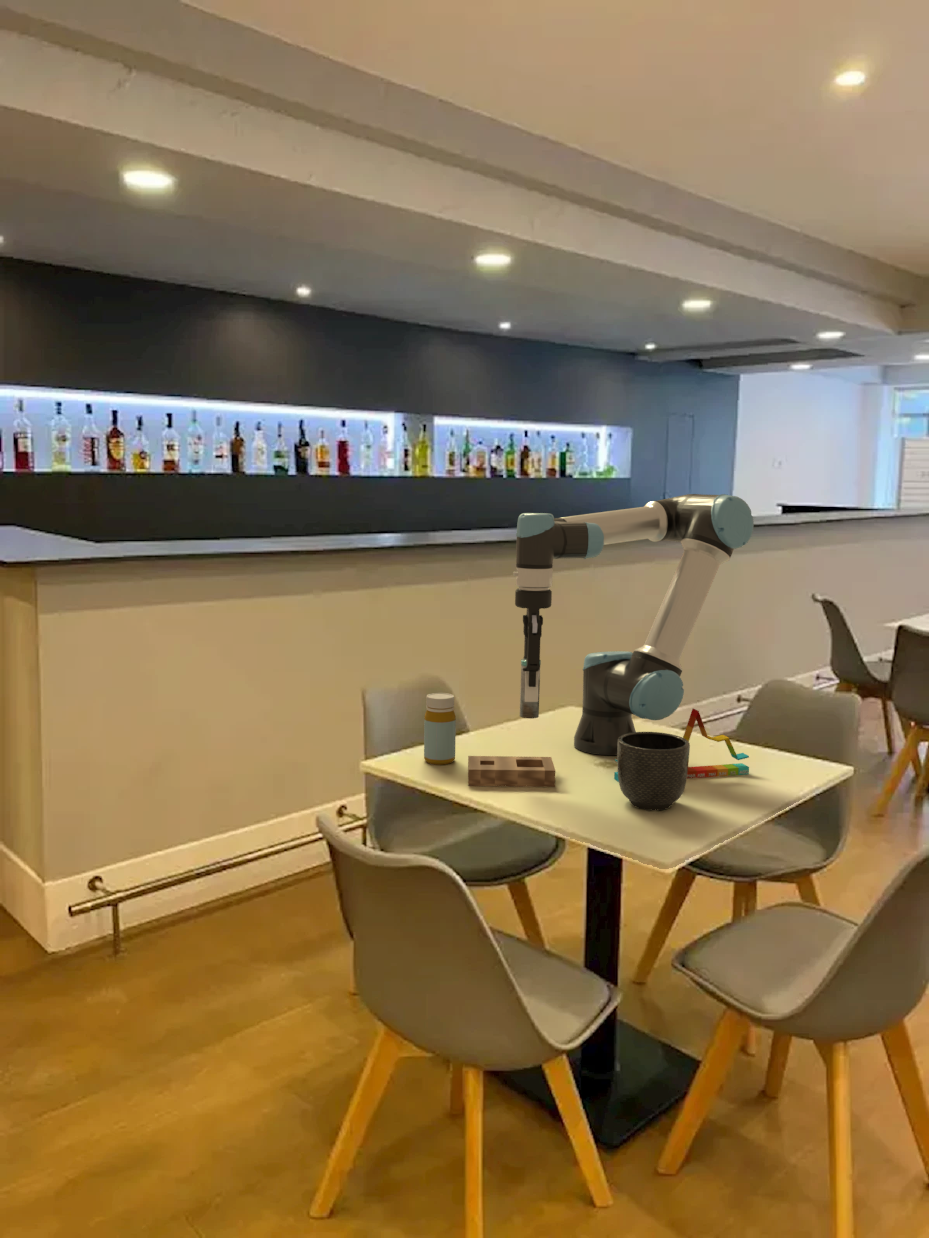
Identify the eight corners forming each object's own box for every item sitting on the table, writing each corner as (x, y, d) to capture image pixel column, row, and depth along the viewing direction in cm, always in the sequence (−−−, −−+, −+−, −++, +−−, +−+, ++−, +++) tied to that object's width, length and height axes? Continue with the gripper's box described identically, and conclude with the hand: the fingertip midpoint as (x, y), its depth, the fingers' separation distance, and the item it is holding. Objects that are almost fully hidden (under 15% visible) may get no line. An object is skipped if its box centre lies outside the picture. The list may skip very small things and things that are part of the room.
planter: (700, 812, 188) (703, 747, 186) (634, 818, 184) (637, 752, 182) (665, 790, 201) (668, 729, 199) (603, 795, 197) (605, 733, 195)
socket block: (550, 772, 212) (551, 756, 212) (555, 786, 202) (555, 770, 202) (468, 771, 212) (468, 755, 212) (468, 785, 202) (468, 769, 202)
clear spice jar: (538, 714, 207) (540, 658, 206) (539, 718, 203) (541, 662, 202) (518, 713, 207) (520, 658, 206) (519, 718, 203) (521, 661, 202)
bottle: (456, 757, 223) (457, 693, 221) (453, 766, 216) (454, 699, 214) (426, 755, 224) (426, 691, 221) (422, 764, 217) (422, 698, 215)
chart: (620, 785, 205) (622, 715, 203) (614, 780, 208) (616, 712, 206) (749, 775, 213) (753, 708, 211) (741, 771, 216) (745, 705, 214)
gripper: (513, 583, 210) (510, 690, 213) (517, 592, 193) (514, 707, 196) (548, 584, 210) (545, 690, 213) (555, 593, 193) (551, 708, 196)
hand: (530, 698), depth 205 cm, fingers closed on clear spice jar, 4 cm apart
